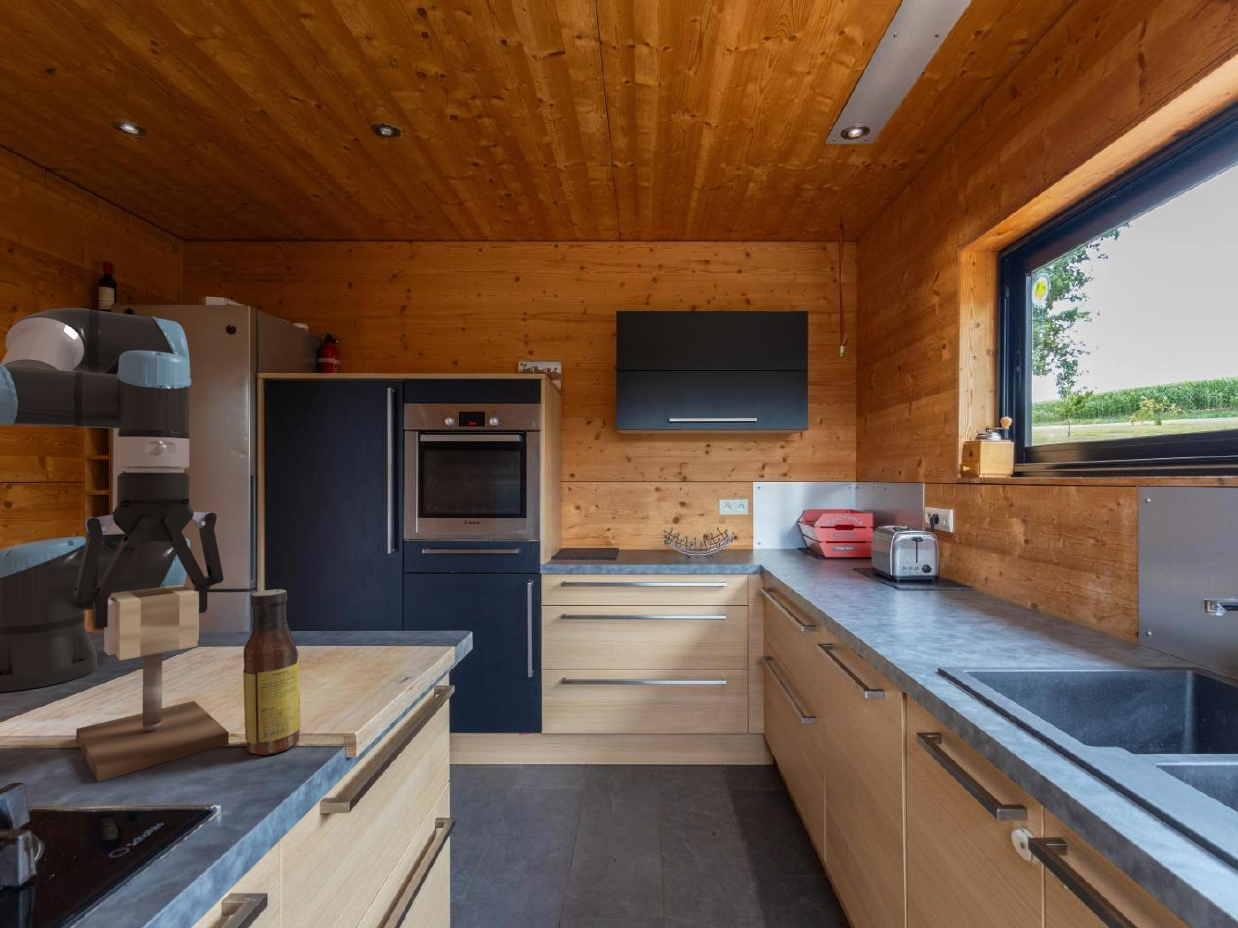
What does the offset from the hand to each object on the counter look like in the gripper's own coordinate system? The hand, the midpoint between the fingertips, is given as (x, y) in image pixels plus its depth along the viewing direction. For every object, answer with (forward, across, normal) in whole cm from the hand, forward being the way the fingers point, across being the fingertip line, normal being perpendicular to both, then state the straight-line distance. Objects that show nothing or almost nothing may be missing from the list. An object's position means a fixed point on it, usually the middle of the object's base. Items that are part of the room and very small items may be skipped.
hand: (152, 644), depth 80 cm
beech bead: (0, 0, 0) cm, 0 cm away
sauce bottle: (+13, +10, -13) cm, 21 cm away
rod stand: (+13, 0, 0) cm, 13 cm away
